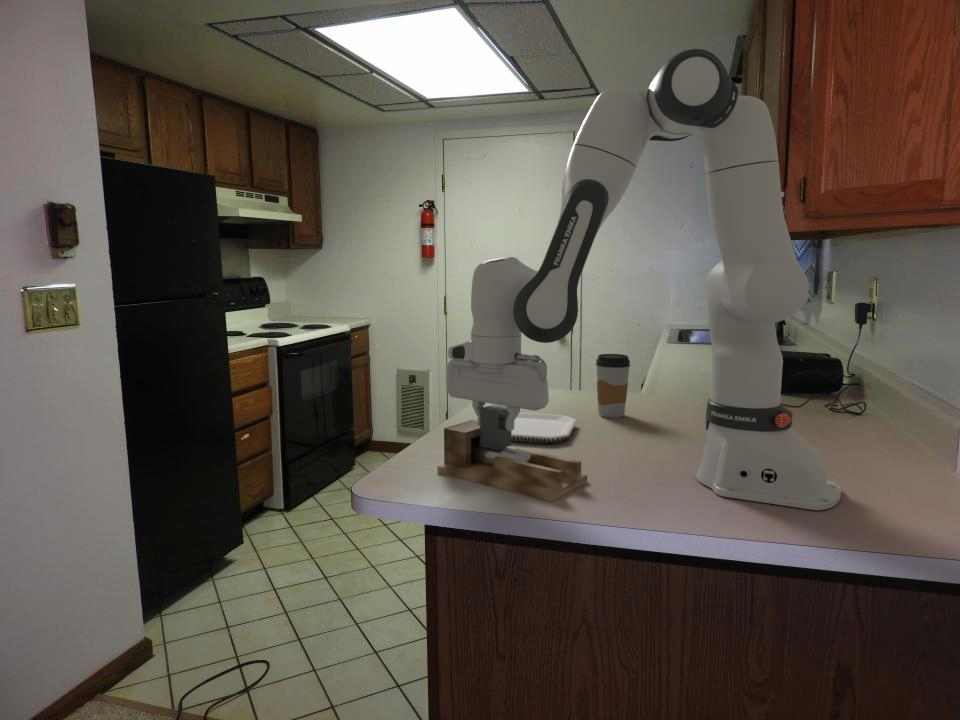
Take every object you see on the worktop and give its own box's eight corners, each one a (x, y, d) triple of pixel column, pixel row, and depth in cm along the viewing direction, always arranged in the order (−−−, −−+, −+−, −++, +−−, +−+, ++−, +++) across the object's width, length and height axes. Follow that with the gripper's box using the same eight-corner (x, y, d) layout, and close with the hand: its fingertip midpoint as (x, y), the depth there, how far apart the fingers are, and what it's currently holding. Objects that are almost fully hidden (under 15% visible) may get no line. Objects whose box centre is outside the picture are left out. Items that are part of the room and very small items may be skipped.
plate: (470, 441, 139) (470, 431, 139) (493, 419, 159) (494, 410, 158) (566, 448, 133) (566, 438, 133) (578, 425, 153) (578, 416, 153)
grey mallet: (534, 469, 114) (535, 411, 113) (521, 475, 111) (522, 415, 109) (472, 455, 123) (472, 400, 121) (458, 460, 119) (458, 404, 118)
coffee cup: (635, 416, 160) (637, 356, 158) (611, 420, 156) (613, 359, 154) (611, 410, 167) (612, 352, 165) (587, 414, 163) (588, 355, 160)
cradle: (587, 481, 112) (588, 438, 111) (551, 501, 103) (551, 454, 102) (477, 456, 127) (477, 418, 126) (437, 472, 117) (437, 430, 116)
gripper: (556, 354, 110) (554, 433, 112) (462, 344, 122) (462, 416, 124) (536, 358, 105) (535, 441, 107) (440, 348, 117) (441, 422, 119)
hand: (495, 427), depth 116 cm, fingers closed on grey mallet, 4 cm apart
